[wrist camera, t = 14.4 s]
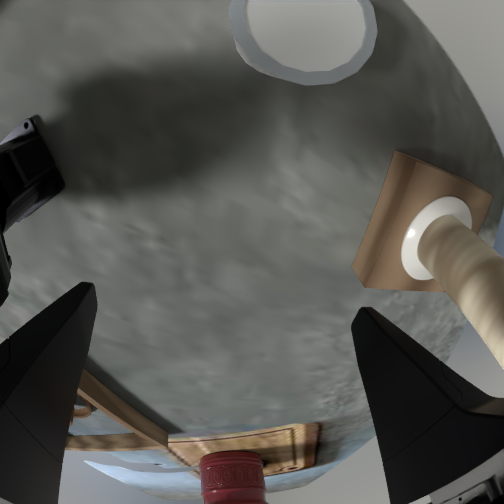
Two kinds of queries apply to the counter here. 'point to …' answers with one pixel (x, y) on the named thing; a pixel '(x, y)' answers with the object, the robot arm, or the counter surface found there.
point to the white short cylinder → (304, 37)
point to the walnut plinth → (413, 222)
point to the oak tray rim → (106, 401)
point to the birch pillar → (467, 276)
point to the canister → (232, 478)
